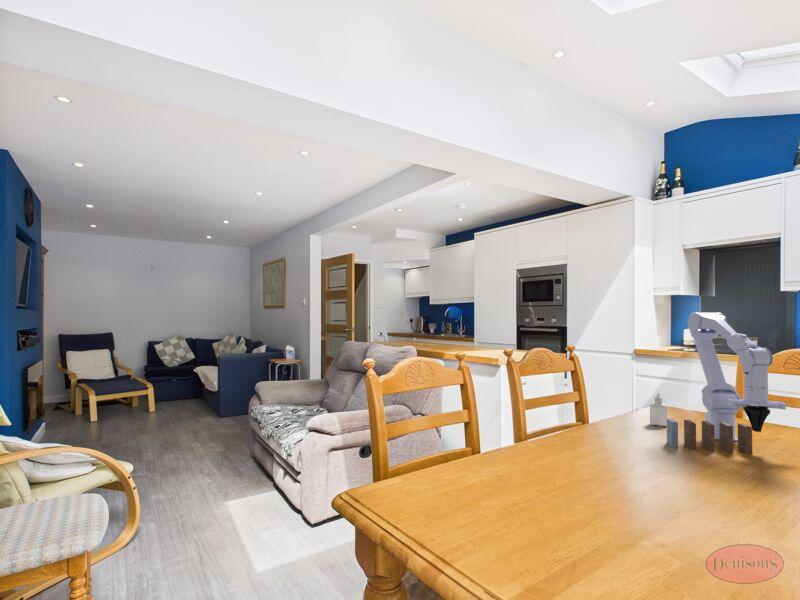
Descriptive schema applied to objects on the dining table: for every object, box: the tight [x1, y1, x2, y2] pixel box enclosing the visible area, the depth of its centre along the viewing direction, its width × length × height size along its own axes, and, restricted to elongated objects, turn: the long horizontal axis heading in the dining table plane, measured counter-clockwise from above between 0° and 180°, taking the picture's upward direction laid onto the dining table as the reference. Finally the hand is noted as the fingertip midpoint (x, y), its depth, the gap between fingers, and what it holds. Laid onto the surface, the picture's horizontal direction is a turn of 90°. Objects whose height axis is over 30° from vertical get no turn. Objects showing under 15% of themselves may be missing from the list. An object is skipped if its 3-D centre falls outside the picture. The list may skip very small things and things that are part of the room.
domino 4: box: [719, 422, 734, 453], centre depth 134 cm, size 2×5×8 cm, turn 166°
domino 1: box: [666, 418, 679, 449], centre depth 138 cm, size 2×5×8 cm, turn 165°
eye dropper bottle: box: [649, 393, 668, 427], centre depth 163 cm, size 4×6×12 cm
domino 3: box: [701, 420, 716, 452], centre depth 136 cm, size 2×5×8 cm, turn 166°
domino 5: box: [737, 422, 753, 455], centre depth 133 cm, size 2×5×8 cm, turn 165°
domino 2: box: [683, 419, 697, 450], centre depth 137 cm, size 2×5×8 cm, turn 165°
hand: (756, 431), depth 133 cm, fingers closed
